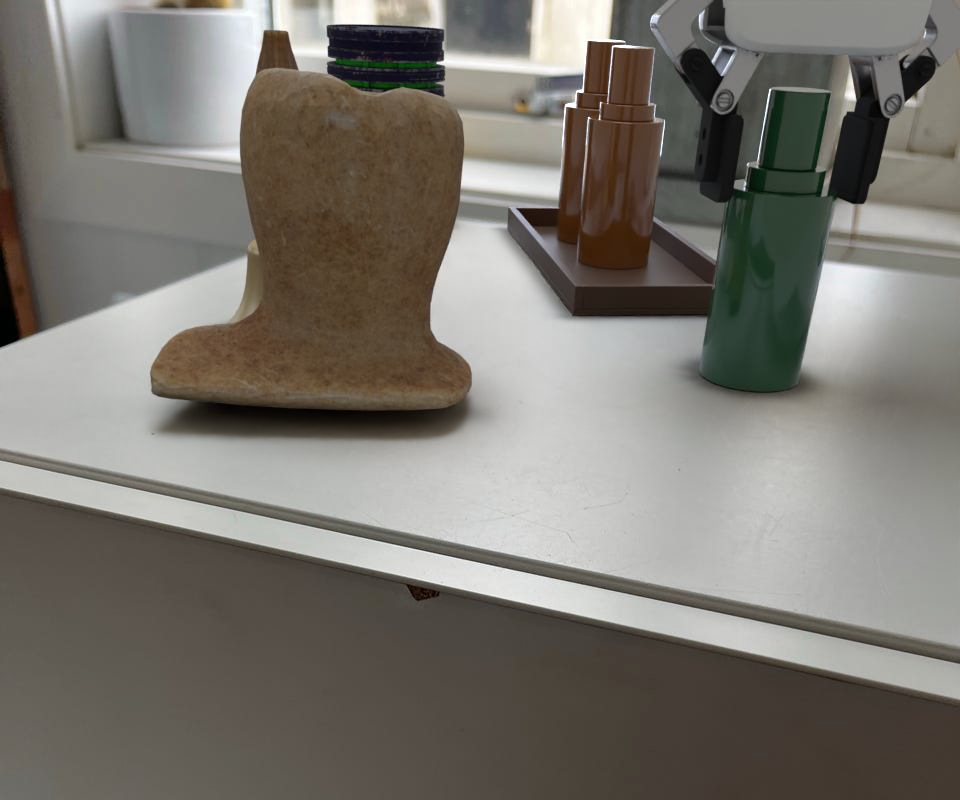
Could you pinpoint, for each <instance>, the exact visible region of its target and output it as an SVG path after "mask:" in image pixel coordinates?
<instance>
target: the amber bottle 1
mask: <svg viewBox="0 0 960 800" xmlns="http://www.w3.org/2000/svg"><path fill="white" fill-rule="evenodd" d="M613 46H626V41H624V40H618V39H617V40H616V39H596V38H595V39H586V44H585V57H584V67H583V69H584V70H583V82H582V89H578V90H576V91H575V92H576V93H575V102H570V103H566V104H565V105H564V116H563V131H562V142H561V143H562V144H561V145H562V146H561V159H560V172H559V173H560V174H559V188H558V199H557V201H558V202H557V207H558V214H557V228H556V238H557V239H559V240H560V241H563V242H566V243H571V244H577V245H578V233H579V221H580V208H581V196H582V184H583V172H584V160H585V148H586V136H587V123H588V117H589V116H591V115H597V114H599V111H600V102H601V101H605V100H607V99H608V88H609V77H610V66H611V55H612V47H613Z"/></svg>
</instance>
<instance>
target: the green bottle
mask: <svg viewBox="0 0 960 800" xmlns="http://www.w3.org/2000/svg"><path fill="white" fill-rule="evenodd" d="M831 98H832V91H831V90H828V89H824V88H823V89H822V88H816V87H815V88H814V87H800V86H773V87H770V88H769V91H768V96H767V102H766V108H765V113H764V114H765V115H764V120H763V127H762V132H761V137H760V138H761V139H760V143H759V150H758V156H757V160H756V161H750V162H748V163H747V164H746V169H745V174H744V175H745V176H744V178H743V179H735V183H734V189H733V195H732V198H731V200H728V202H727V203H724V209H723V214H722V222H721V229H720V234H719V241H718V246H717V254H716V259H715V260H716V266H715V272H714V279H713V285H712V291H711V298H710V304H709V311H708V314H707V318H706V324H705V331H704V335H703V336H704V338H703V343H702V349H701V357H700V363H699V374H700V375H701V376H702V377H703V378H704V379H705V380H707V381H709V382H711V383H714V384H716V385H718V386H722V387H725V388H730V389H732V390H733V389H734V390H739V391H746V392H757V393H758V392H759V393H760V392H763V393H766V392H768V393H769V392H771V393H772V392H781V391H786V390H788V389H791V388H794V387H795V386H796V385H797V384H798V383H799V381H800V375H801V370H802V367H803V361H804V357H805V351H806V346H807V341H808V338H809V332H810V328H811V323H812V318H813V314H814V308H815V305H816V299H817V295H818V290H819V285H820V280H821V277H822V272H823V266H824V261H825V258H826V257H825V256H826V253H827V248H828V243H829V239H830V233H831V229H832V223H833V219H834V214H835V210H836V205H837V200H838V198H837V196H838V191H837V190H835V189H833V188H831V187H829V185H828V186H827V185H825V180H826V175H827V169H826V167H824V166H820V165H818V164H819V159H820V154H821V148H822V144H823V140H824V139H823V138H824V134H825V130H826V129H825V128H826V124H827V119H828V114H829V109H830V103H831Z"/></svg>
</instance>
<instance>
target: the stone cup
mask: <svg viewBox="0 0 960 800" xmlns="http://www.w3.org/2000/svg"><path fill="white" fill-rule="evenodd" d="M255 75H256V74H255ZM255 75H254V77H253V79H252V81H251V83H250V85H249V87H248V89H247V92H246V95H245V98H244V102H243V105H242V109H241V117H240V128H239V161H240V171H241V179H242V182H243V187H244V193H245V198H246V205H247V209H248V214H249V218H250V225H251V227H252V231H253V235H254V238H255V239H256V243H257V247H258V251H259V256H260V261H261V265H262V274H263V295H262V299H261V301H260V304H259V306H258V307H257V309H256V310H255V311H254V312H253V313H252V314H251V315H249V316H247V317H246V318H244V319H243V320H241V321H239V322H235V323H228V322H227V323H215V324H209V325H207V324H206V325H199V326H193V327H191V328H185V329H184V330H182V331H180V332H178V333H176V334H174V336H172V337H171V338H170V339H168V341H167V342H166V343H165V344H164V345H163V347H161V349H160V351H159V352H158V354H157V356H156V357H155V359H154V360H153V363H152V365H151V367H150V371H149V376H150V386H151V388H150V389H151V390H150V391H151V394H152V395H154V396H156V397H158V398H163V399H169V400H178V401H190V402H198V403H199V402H200V403H212V404H214V403H215V404H225V405H237V406H250V407H252V406H253V407H266V408H280V409H296V410H297V409H299V410H302V409H311V410H331V411H333V410H334V411H369V412H371V411H372V412H373V411H375V412H376V411H422V410H439V409H445V408H448V407H451V406H454V405H456V404H458V403H460V402H461V401H462V400H463V399H464V398H465V397H466V395H468V393H469V392H470V390H471V389H472V385H473V372H472V369H471V366H470V364H469V363H468V362H467V360H466V359H465V358H464V357H463V356H462V355H461V354H460V353H458V352H457V351H455V350H454V349H452V348H450V347H449V346H448V345H446V344H444V343H442V342H440V341H438V340H437V338H436V336H435V334H434V333H433V331H432V327H431V326H432V325H431V312H432V311H431V309H432V308H431V306H432V301H433V300H432V299H433V296H434V295H433V294H434V288H435V285H436V282H437V279H438V275H439V272H440V269H441V267H442V264H443V262H444V259H445V256H446V253H447V250H448V247H449V244H450V241H451V238H452V236H453V232H454V228H455V224H456V221H457V216H458V213H459V212H458V211H459V207H460V202H461V188H462V179H463V178H462V177H463V166H464V155H465V132H464V123H463V120H462V117H461V115H460V113H459V111H458V109H457V108H456V105H455V104H454V103H452V102H451V101H449V100H448V99H446V98H445V97H444V98H443V97H441V96H439V95H435V94H432V93H429V92H425V91H421V90H417V89H410V88H404V87H401V88H398V89H393V90H390V91H386V92H383V93H376V92H366V91H361V90H359V89H357V88H354V87H351V86H350V85H349V84H348V83H346V82H344V81H342V80H340V79H338V78H336V77H334V76H332V75H330V74H328V73H326V72H325V73H323V72H316V71H309V70H299V71H298V70H295V69H285V68H271V69H265V70H262V71H261V72H259V73H258V74H257V75H256V76H255ZM255 239H254V240H255Z"/></svg>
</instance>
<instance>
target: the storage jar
mask: <svg viewBox="0 0 960 800" xmlns="http://www.w3.org/2000/svg"><path fill="white" fill-rule="evenodd" d="M326 37H327V38H328V46H326V47H327V48H326V49H327V57H328V58H330V59H334V60H330V61H326V66H327V67H326V74H330V75H332V76H334V77H336V78H338V79H340V80H342V81H344V82H346V83H348V84H349V85H350V86H351V87H354V88H357V89H359V90H361V91H366V92H376V93H383V92H386V91H390V90H393V89H398V88H401V87H404V88H410V89H417V90H421V91H425V92H429V93H432V94H435V95H439V96H441V97H443V98H445V97H446V94H445V85H444V84H441V83H443V82H445V81H446V66H445V65H443V64H440V62H444V61H445V50H444V49H443V47H444V46H443V43H444V41H445V29H444V28H437V27H429V26H427V27H426V26H412V25H395V24H393V25H392V24H359V23H358V24H357V23H356V24H355V23H354V24H352V23H348V24H347V23H342V24H341V23H340V24H338V23H337V24H327V25H326ZM438 63H439V64H438Z"/></svg>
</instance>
